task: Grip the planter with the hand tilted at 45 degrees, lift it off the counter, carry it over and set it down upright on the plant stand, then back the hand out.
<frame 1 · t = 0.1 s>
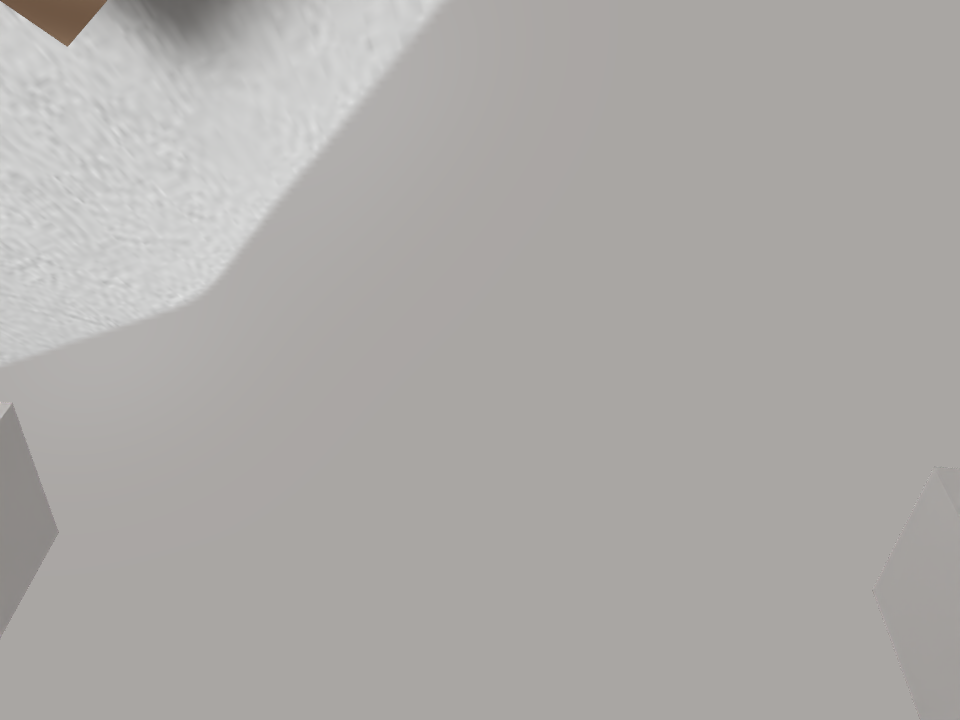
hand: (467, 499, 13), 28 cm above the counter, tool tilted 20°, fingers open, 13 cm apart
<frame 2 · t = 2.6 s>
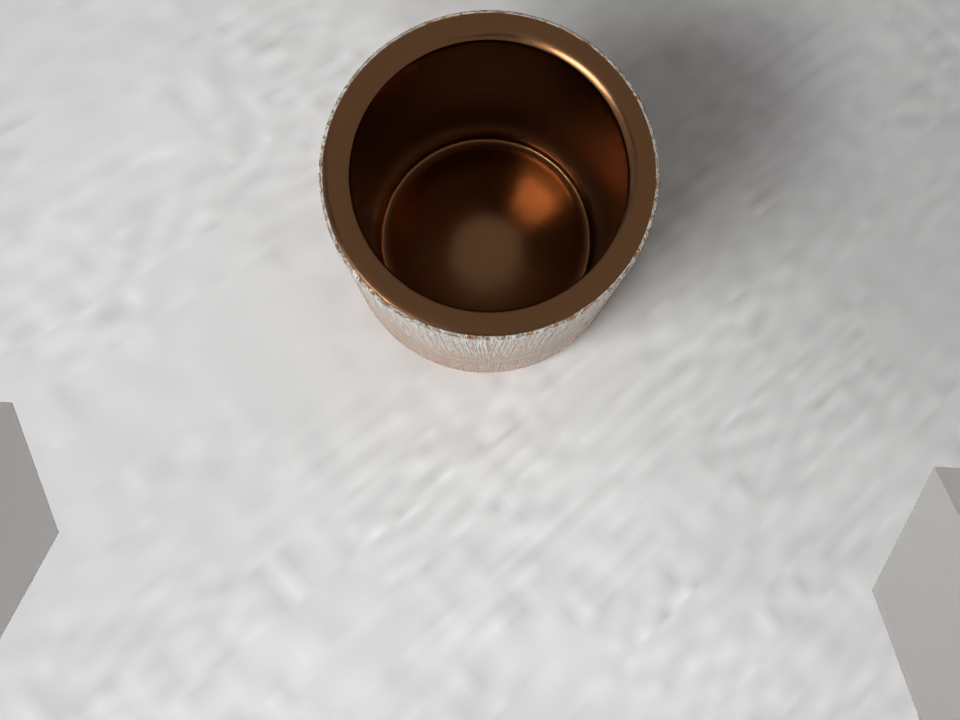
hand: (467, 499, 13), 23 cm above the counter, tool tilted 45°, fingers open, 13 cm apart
planter: (485, 246, 37), on the counter
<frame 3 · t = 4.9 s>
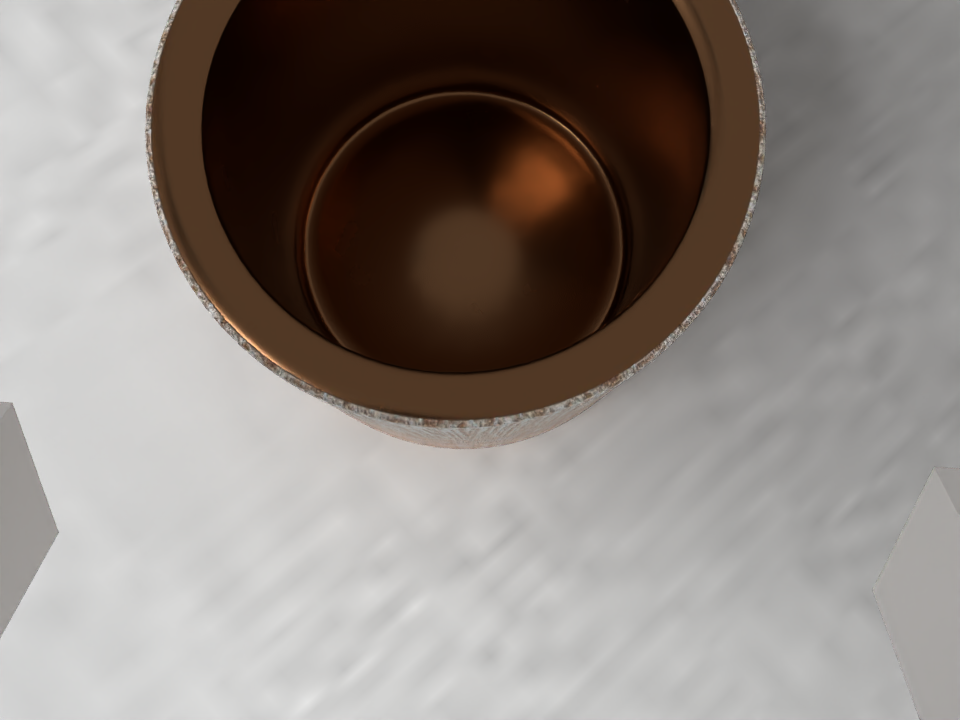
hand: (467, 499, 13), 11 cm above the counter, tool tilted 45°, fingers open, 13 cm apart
planter: (464, 254, 25), on the counter
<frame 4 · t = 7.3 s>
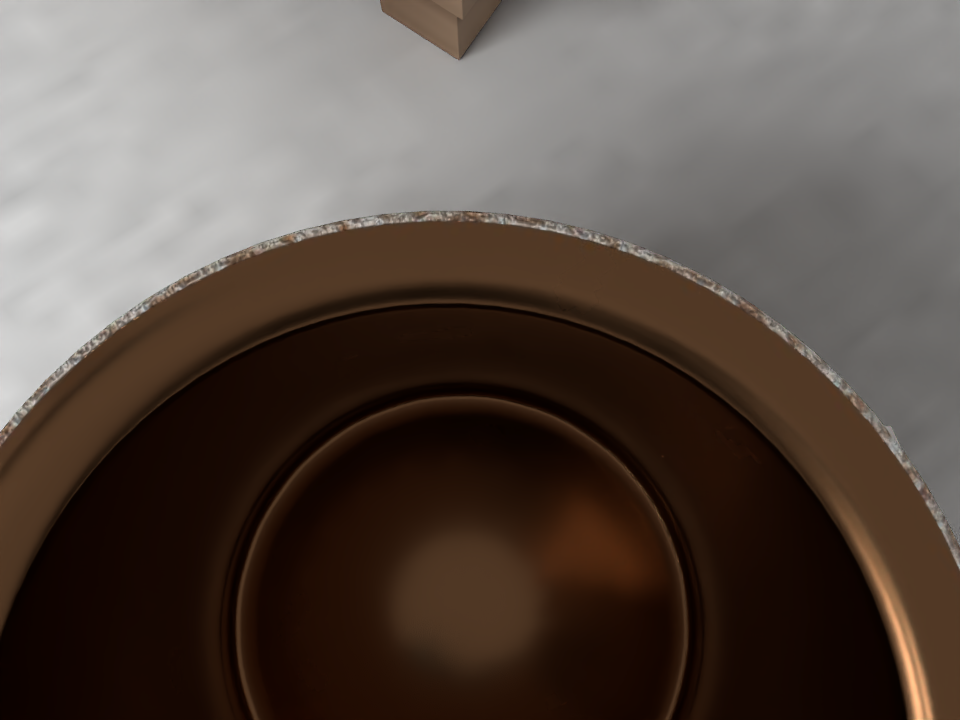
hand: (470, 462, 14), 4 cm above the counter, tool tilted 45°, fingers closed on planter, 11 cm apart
planter: (463, 610, 18), on the counter, touching gripper
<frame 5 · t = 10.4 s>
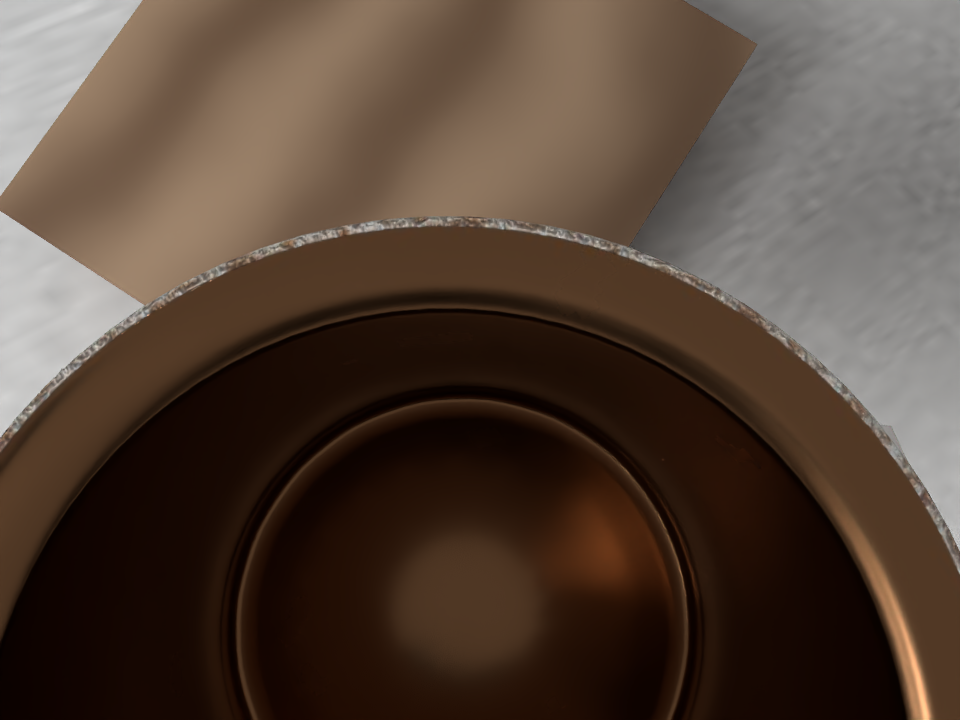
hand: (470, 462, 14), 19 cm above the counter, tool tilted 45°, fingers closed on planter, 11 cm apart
planter: (463, 613, 18), point 15 cm above the counter, touching gripper
plant stand: (394, 175, 34), on the counter
when the fingers open (11 cm above the counter, at t = 13.8 s): planter drops 1 cm, resting on plant stand.
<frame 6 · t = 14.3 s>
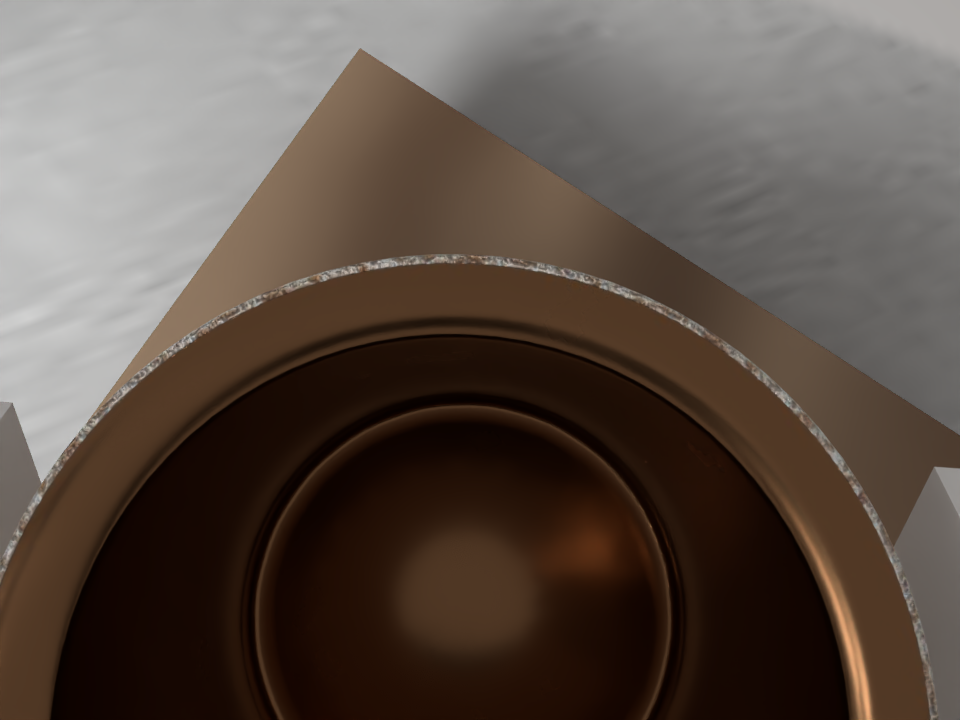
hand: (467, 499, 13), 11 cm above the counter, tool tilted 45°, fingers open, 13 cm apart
planter: (464, 603, 19), point 5 cm above the counter, touching plant stand
plant stand: (467, 575, 24), on the counter
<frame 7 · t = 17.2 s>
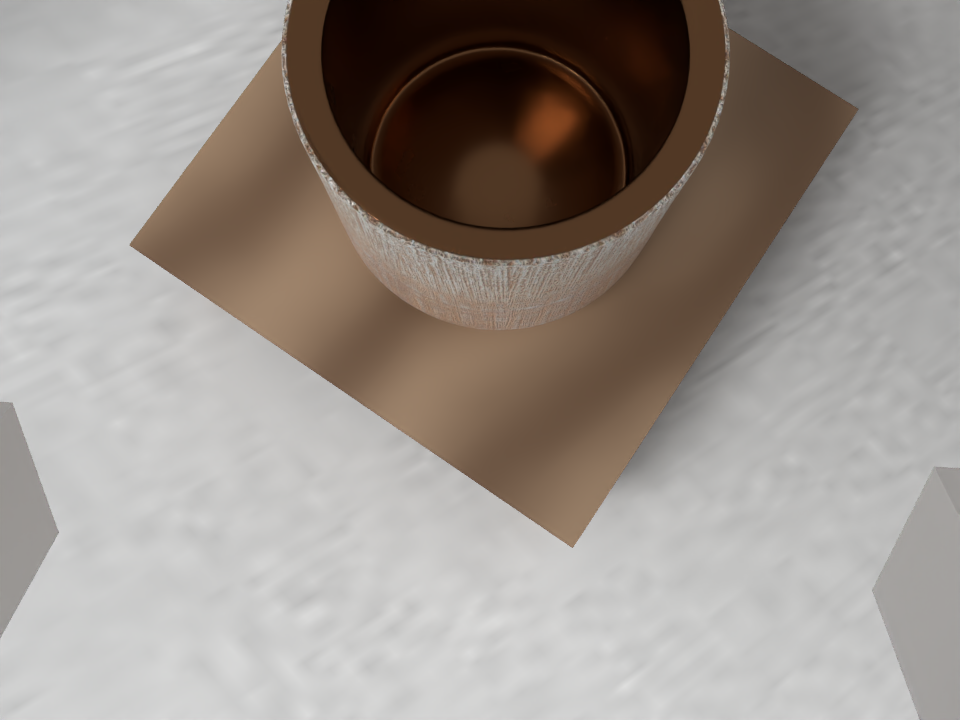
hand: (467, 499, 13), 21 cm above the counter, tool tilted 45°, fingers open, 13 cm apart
planter: (497, 180, 31), point 5 cm above the counter, touching plant stand
plant stand: (495, 218, 36), on the counter
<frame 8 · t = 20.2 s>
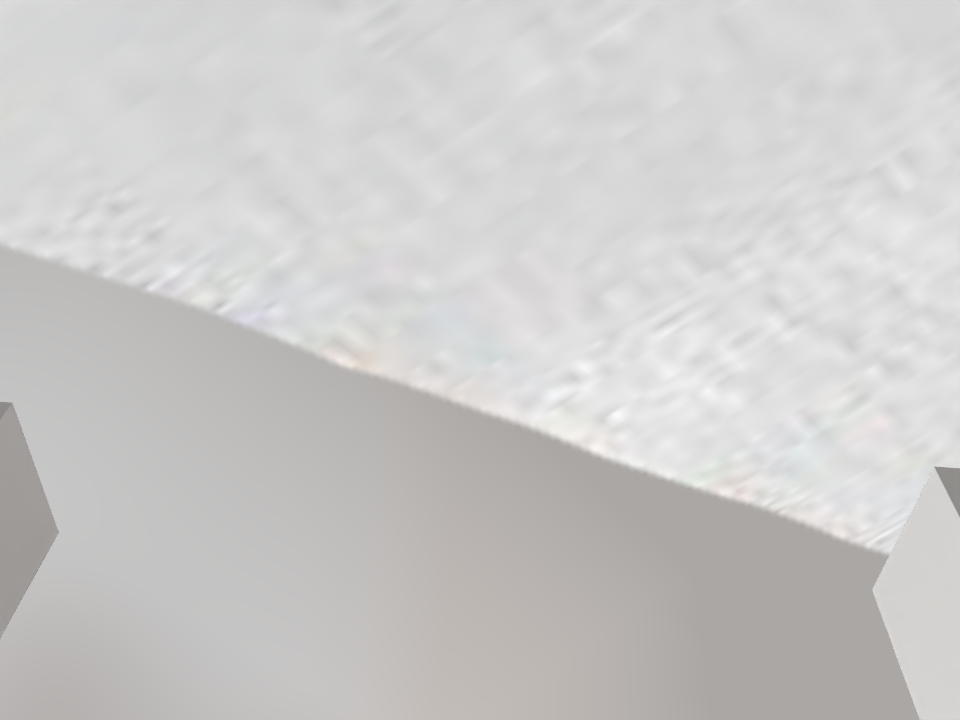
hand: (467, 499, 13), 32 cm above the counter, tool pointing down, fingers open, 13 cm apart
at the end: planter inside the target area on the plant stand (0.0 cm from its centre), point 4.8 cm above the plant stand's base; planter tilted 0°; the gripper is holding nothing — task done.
